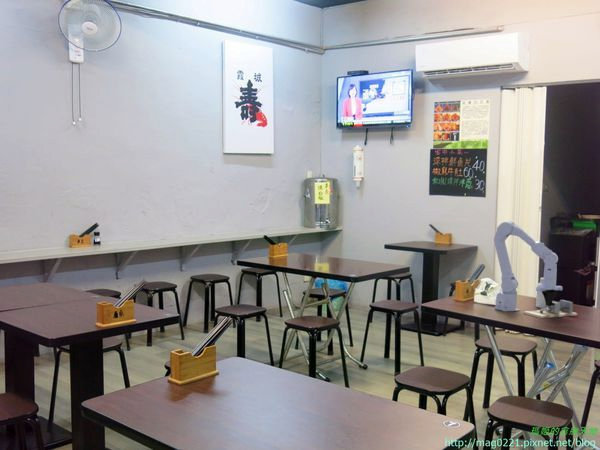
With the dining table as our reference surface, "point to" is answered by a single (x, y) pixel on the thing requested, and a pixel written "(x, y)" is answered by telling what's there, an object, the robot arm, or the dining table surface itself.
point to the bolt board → (565, 310)
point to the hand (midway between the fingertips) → (548, 305)
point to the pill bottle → (540, 296)
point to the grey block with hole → (554, 307)
